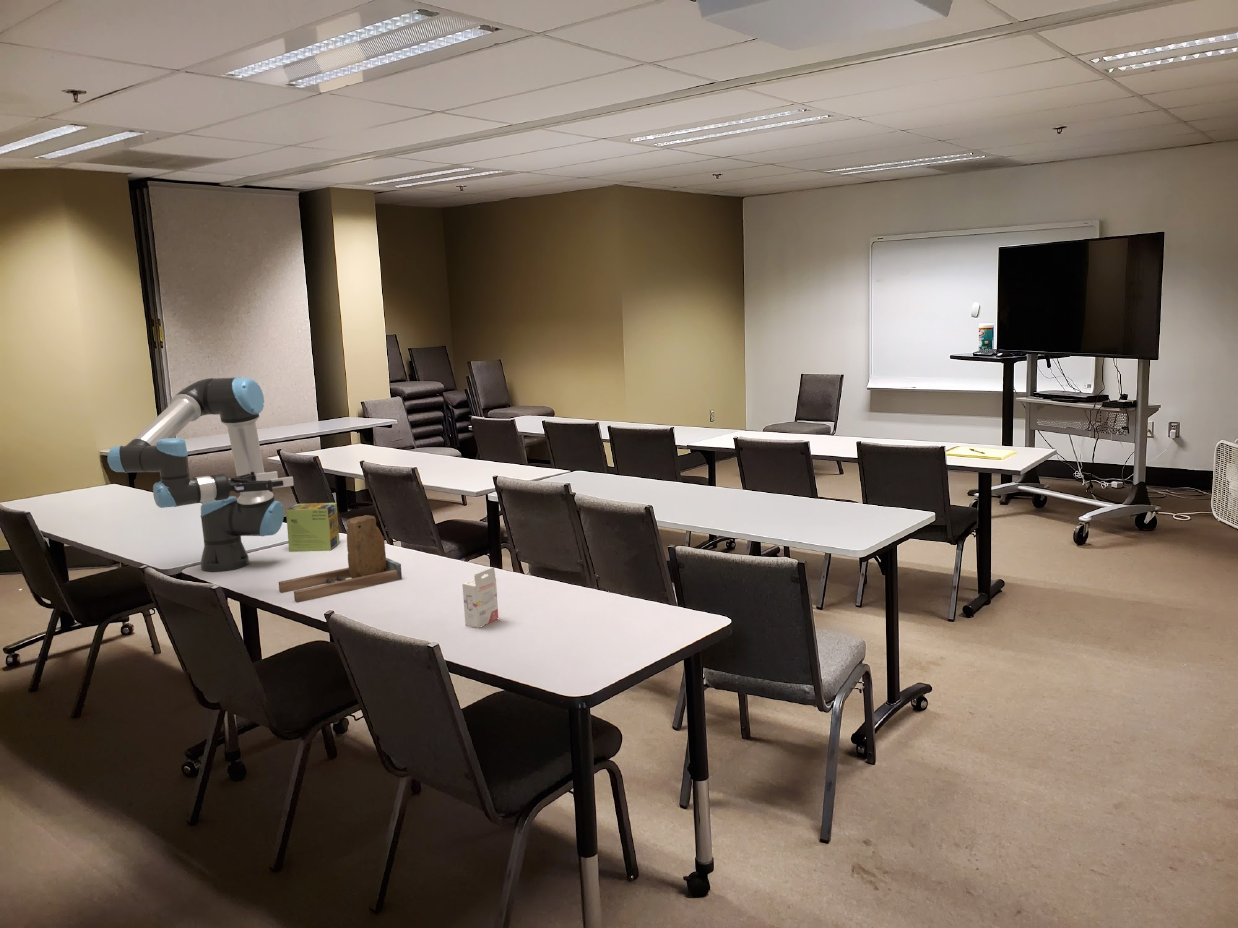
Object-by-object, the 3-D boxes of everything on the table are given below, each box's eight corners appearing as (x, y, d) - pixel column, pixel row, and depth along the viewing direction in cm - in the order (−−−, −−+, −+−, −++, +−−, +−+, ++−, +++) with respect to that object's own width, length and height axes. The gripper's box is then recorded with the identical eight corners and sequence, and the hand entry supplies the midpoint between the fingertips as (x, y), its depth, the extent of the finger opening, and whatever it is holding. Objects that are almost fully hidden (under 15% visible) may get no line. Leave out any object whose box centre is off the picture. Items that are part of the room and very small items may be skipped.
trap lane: (279, 591, 282) (277, 575, 282) (381, 569, 303) (380, 554, 302) (297, 602, 271) (295, 585, 270) (401, 579, 292) (400, 563, 291)
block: (357, 584, 286) (352, 521, 283) (347, 579, 292) (342, 517, 289) (389, 576, 293) (385, 515, 290) (379, 572, 299) (374, 512, 296)
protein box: (331, 550, 330) (327, 508, 327) (288, 551, 330) (284, 509, 328) (340, 543, 340) (337, 502, 338) (299, 544, 340) (295, 503, 338)
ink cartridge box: (484, 616, 254) (482, 564, 251) (499, 618, 251) (496, 566, 249) (464, 625, 247) (460, 572, 244) (478, 628, 244) (475, 574, 242)
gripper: (201, 494, 280) (272, 485, 293) (226, 506, 261) (300, 495, 274) (199, 470, 279) (270, 461, 292) (224, 480, 260) (298, 471, 273)
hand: (285, 478), depth 283 cm, fingers open, 13 cm apart
